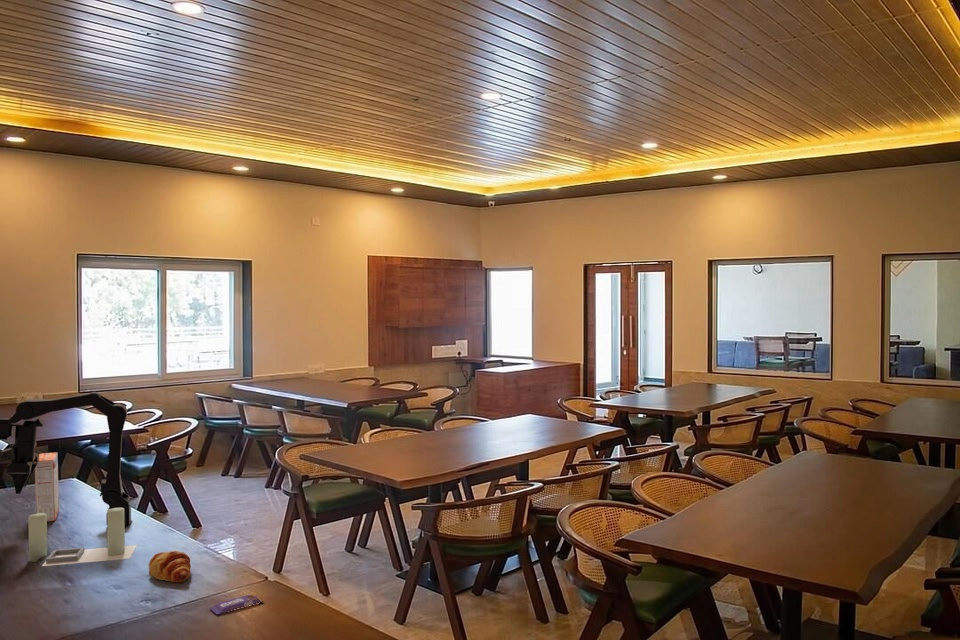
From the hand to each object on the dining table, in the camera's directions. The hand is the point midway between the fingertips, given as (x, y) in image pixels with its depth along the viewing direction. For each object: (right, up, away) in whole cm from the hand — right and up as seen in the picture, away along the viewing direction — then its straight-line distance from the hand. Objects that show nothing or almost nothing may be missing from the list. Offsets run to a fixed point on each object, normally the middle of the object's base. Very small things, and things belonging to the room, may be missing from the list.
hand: (20, 490), depth 230 cm
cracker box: (-4, -14, +21) cm, 26 cm away
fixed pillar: (+39, -14, -19) cm, 46 cm away
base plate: (+33, -15, -21) cm, 41 cm away
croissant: (+61, -15, -33) cm, 71 cm away
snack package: (+85, -16, -54) cm, 102 cm away
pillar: (+18, -15, -21) cm, 31 cm away
